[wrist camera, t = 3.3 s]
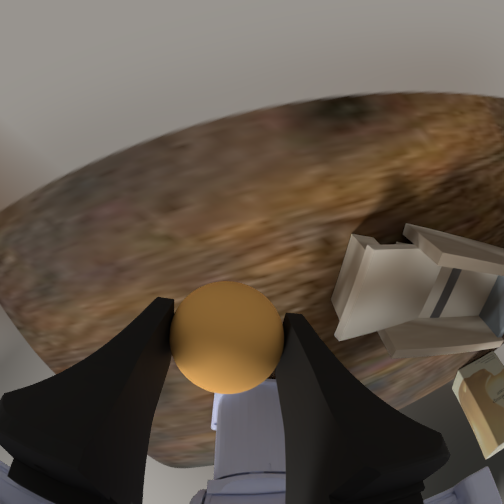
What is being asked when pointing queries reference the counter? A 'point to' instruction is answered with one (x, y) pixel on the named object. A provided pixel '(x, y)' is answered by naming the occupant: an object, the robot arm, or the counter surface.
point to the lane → (422, 293)
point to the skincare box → (483, 400)
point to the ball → (226, 337)
